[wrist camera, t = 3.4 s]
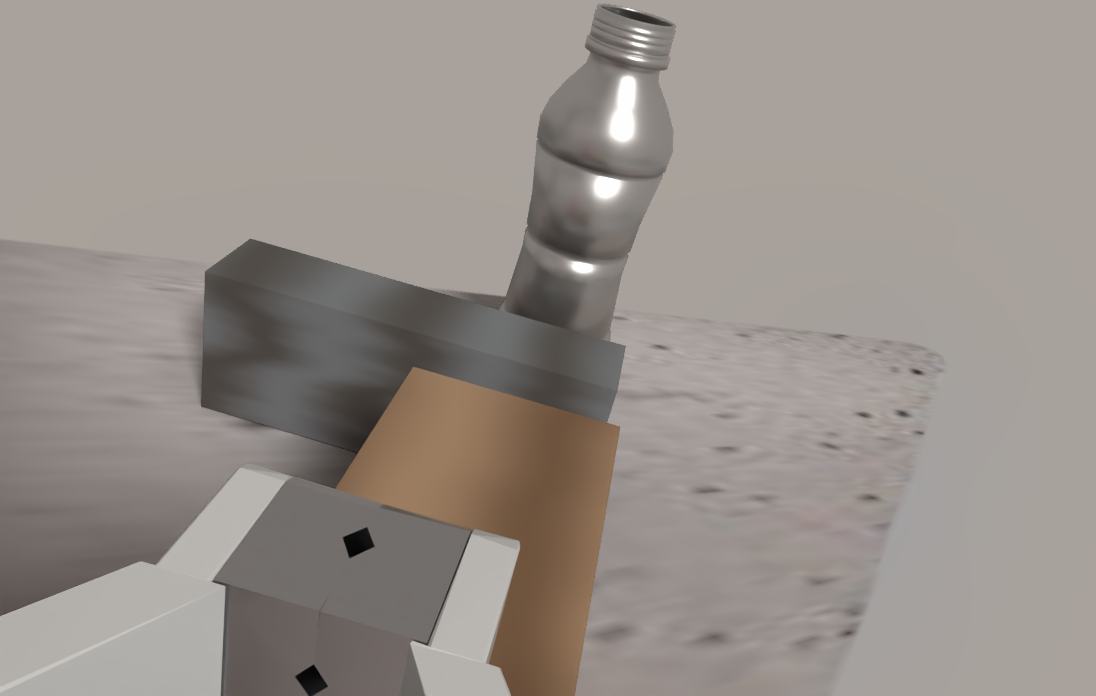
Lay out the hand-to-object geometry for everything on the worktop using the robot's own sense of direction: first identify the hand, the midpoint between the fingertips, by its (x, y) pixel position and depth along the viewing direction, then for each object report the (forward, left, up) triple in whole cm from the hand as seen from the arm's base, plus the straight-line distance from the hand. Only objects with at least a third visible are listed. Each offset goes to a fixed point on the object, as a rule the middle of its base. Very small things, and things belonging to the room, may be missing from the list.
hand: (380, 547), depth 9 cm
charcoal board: (-18, +19, -18) cm, 32 cm away
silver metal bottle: (-17, +28, -18) cm, 38 cm away
